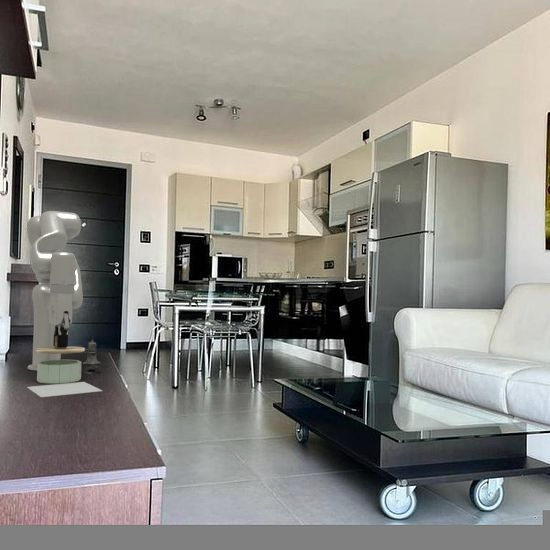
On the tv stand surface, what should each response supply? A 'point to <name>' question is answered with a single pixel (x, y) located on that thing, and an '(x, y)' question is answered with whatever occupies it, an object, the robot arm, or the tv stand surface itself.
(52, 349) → the lid
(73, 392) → the mat
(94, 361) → the salt shaker
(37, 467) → the tv stand surface
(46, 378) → the bowl
